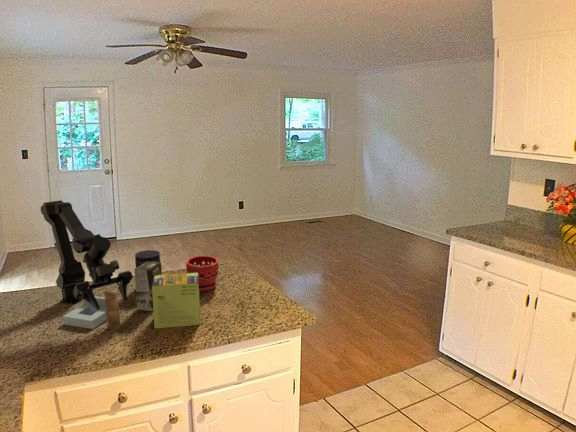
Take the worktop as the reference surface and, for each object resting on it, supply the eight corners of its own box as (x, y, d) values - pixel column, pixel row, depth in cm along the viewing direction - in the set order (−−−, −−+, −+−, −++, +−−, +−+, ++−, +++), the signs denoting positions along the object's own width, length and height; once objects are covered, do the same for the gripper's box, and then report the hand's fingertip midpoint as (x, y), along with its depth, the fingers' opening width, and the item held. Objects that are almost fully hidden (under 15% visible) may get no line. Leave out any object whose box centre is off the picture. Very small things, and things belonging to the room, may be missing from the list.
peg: (105, 329, 149) (101, 293, 146) (112, 324, 152) (109, 288, 150) (115, 330, 148) (112, 294, 145) (122, 325, 151) (119, 290, 149)
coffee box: (152, 311, 162) (149, 269, 159) (136, 309, 164) (133, 268, 160) (164, 301, 171) (161, 261, 168) (148, 299, 172) (146, 260, 169)
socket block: (63, 324, 152) (61, 308, 151) (87, 309, 163) (86, 294, 162) (93, 329, 149) (91, 312, 147) (115, 314, 160) (114, 298, 159)
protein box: (200, 325, 152) (198, 282, 149) (154, 329, 149) (151, 286, 146) (200, 312, 162) (198, 272, 159) (156, 315, 159) (153, 275, 156)
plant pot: (181, 292, 180) (180, 264, 178) (195, 280, 193) (194, 254, 190) (212, 295, 178) (211, 266, 175) (223, 283, 190) (222, 256, 187)
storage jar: (152, 282, 191) (150, 248, 187) (167, 287, 185) (165, 253, 182) (132, 289, 183) (129, 254, 180) (147, 294, 177) (144, 259, 174)
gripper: (72, 260, 142) (89, 302, 136) (128, 248, 154) (145, 286, 149) (66, 277, 149) (82, 318, 144) (120, 264, 162) (136, 301, 156)
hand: (112, 305), depth 148 cm, fingers open, 9 cm apart
